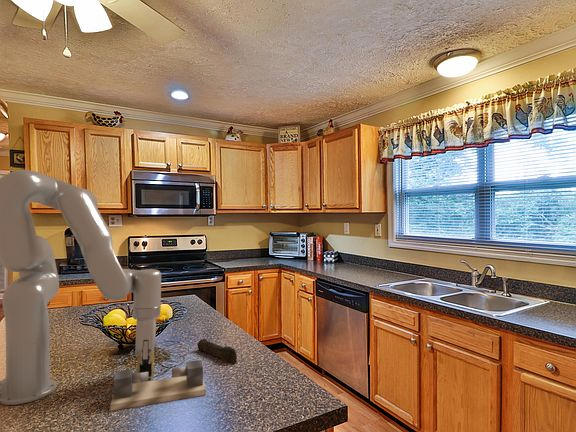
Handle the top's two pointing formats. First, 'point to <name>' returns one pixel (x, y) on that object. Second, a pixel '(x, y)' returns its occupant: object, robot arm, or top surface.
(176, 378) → the shaft mount
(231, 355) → the hand tool
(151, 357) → the yellow rectangular block
